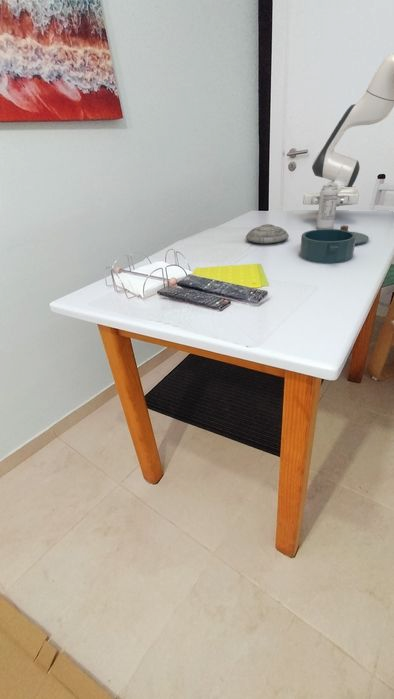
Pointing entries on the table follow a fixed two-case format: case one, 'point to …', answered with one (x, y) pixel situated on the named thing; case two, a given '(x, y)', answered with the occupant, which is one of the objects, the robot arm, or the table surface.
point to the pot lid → (357, 235)
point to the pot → (327, 245)
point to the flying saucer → (267, 234)
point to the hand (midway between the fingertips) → (328, 201)
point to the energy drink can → (327, 206)
